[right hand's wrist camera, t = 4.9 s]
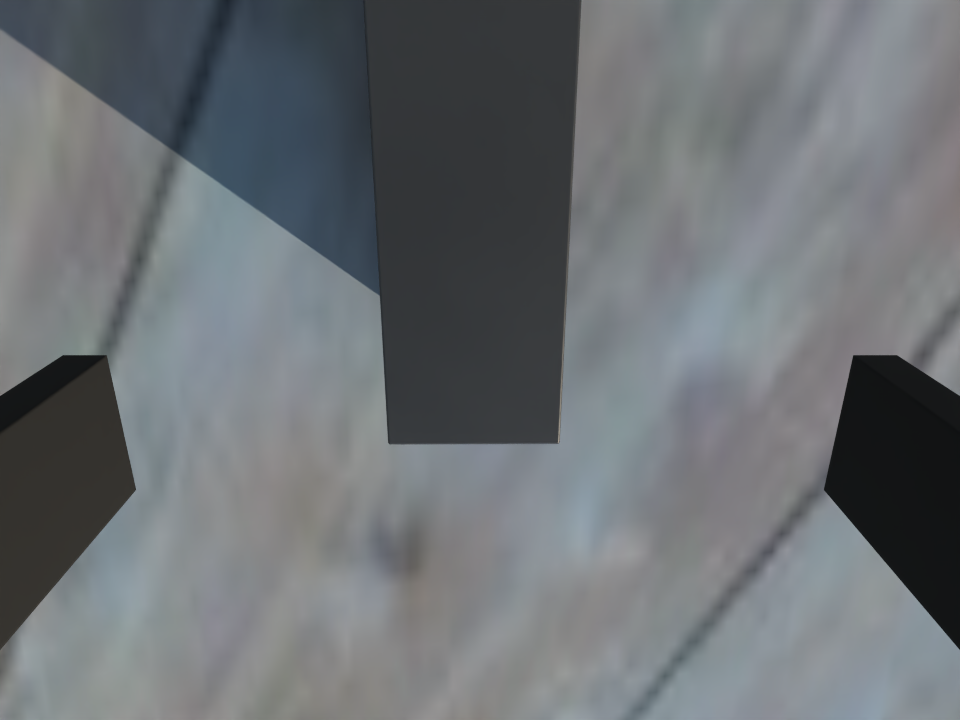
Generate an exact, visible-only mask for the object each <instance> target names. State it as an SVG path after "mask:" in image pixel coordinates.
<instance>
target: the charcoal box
mask: <svg viewBox="0 0 960 720" xmlns="http://www.w3.org/2000/svg"><path fill="white" fill-rule="evenodd" d="M580 16H581V0H364V18H365V35H366V53H367V71H368V89H369V107H370V125H371V143H372V161H373V179H374V197H375V214H376V232H377V250H378V268H379V286H380V304H381V322H382V340H383V358H384V376H385V393H386V411H387V429H388V443H389V444H559V442H560V422H561V402H562V381H563V361H564V341H565V320H566V300H567V280H568V260H569V239H570V219H571V199H572V178H573V158H574V138H575V117H576V97H577V77H578V56H579V36H580Z"/></svg>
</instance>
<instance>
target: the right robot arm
mask: <svg viewBox="0 0 960 720" xmlns="http://www.w3.org/2000/svg"><path fill="white" fill-rule="evenodd" d="M135 490H136V487H135V483H134V478H133V474H132V469H131V465H130V460H129V455H128V451H127V446H126V442H125V437H124V433H123V428H122V423H121V419H120V414H119V410H118V405H117V401H116V396H115V391H114V387H113V382H112V378H111V373H110V369H109V364H108V359H107V355H63V356H61V357H60V358H58V359H57V360H55V361H54V362H52V363H51V364H49V365H47V366H46V367H44V368H43V369H41V370H40V371H38V372H37V373H35V374H34V375H32V376H30V377H29V378H27V379H26V380H24V381H23V382H21V383H20V384H18V385H17V386H15V387H14V388H12V389H10V390H9V391H7V392H6V393H4V394H3V395H1V396H0V649H1V648H2V647H3V646H4V645H5V643H6V642H7V641H8V640H9V639H10V638H11V636H12V635H13V634H14V633H15V632H16V631H17V629H18V628H19V627H20V626H21V625H22V623H23V622H24V621H25V620H26V619H27V618H28V616H29V615H30V614H31V613H32V612H33V611H34V609H35V608H36V607H37V606H38V605H39V603H40V602H41V601H42V600H43V599H44V598H45V596H46V595H47V594H48V593H49V592H50V591H51V589H52V588H53V587H54V586H55V585H56V583H57V582H58V581H59V580H60V579H61V578H62V576H63V575H64V574H65V573H66V572H67V570H68V569H69V568H70V567H71V566H72V565H73V563H74V562H75V561H76V560H77V559H78V558H79V556H80V555H81V554H82V553H83V552H84V550H85V549H86V548H87V547H88V546H89V545H90V543H91V542H92V541H93V540H94V539H95V538H96V536H97V535H98V534H99V533H100V532H101V530H102V529H103V528H104V527H105V526H106V525H107V523H108V522H109V521H110V520H111V519H112V518H113V516H114V515H115V514H116V513H117V512H118V510H119V509H120V508H121V507H122V506H123V505H124V503H125V502H126V501H127V500H128V499H129V497H130V496H131V495H132V494H133V493H134V492H135ZM824 490H825V492H826V493H827V494H828V495H829V496H830V497H831V499H832V500H833V501H834V502H835V503H836V505H837V506H838V507H839V508H840V509H841V510H842V512H843V513H844V514H845V515H846V516H847V518H848V519H849V520H850V521H851V522H852V523H853V525H854V526H855V527H856V528H857V529H858V530H859V532H860V533H861V534H862V535H863V536H864V538H865V539H866V540H867V541H868V542H869V543H870V545H871V546H872V547H873V548H874V549H875V550H876V552H877V553H878V554H879V555H880V556H881V558H882V559H883V560H884V561H885V562H886V563H887V565H888V566H889V567H890V568H891V569H892V570H893V572H894V573H895V574H896V575H897V576H898V578H899V579H900V580H901V581H902V582H903V583H904V585H905V586H906V587H907V588H908V589H909V591H910V592H911V593H912V594H913V595H914V596H915V598H916V599H917V600H918V601H919V602H920V603H921V605H922V606H923V607H924V608H925V609H926V611H927V612H928V613H929V614H930V615H931V616H932V618H933V619H934V620H935V621H936V622H937V623H938V625H939V626H940V627H941V628H942V629H943V631H944V632H945V633H946V634H947V635H948V636H949V638H950V639H951V640H952V641H953V642H954V643H955V645H956V646H957V647H958V648H959V649H960V396H959V395H957V394H956V393H954V392H953V391H951V390H950V389H948V388H946V387H945V386H943V385H942V384H940V383H939V382H937V381H936V380H934V379H933V378H931V377H930V376H928V375H926V374H925V373H923V372H922V371H920V370H919V369H917V368H916V367H914V366H913V365H911V364H909V363H908V362H906V361H905V360H903V359H902V358H900V357H899V356H897V355H853V359H852V364H851V369H850V373H849V378H848V382H847V387H846V391H845V396H844V401H843V405H842V410H841V414H840V419H839V423H838V428H837V433H836V437H835V442H834V446H833V451H832V455H831V460H830V465H829V469H828V474H827V478H826V483H825V487H824Z"/></svg>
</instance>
